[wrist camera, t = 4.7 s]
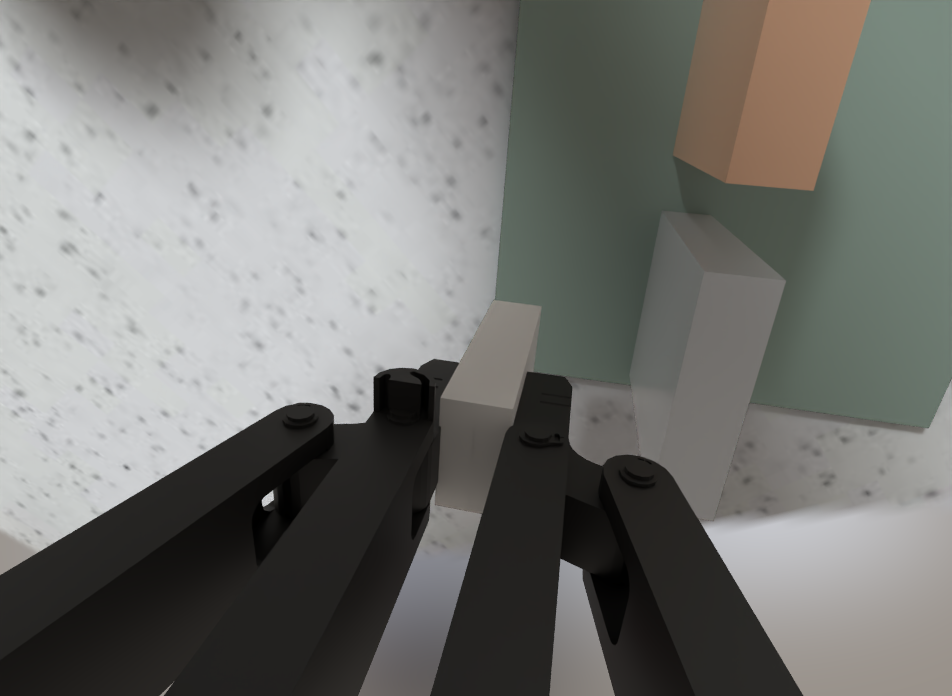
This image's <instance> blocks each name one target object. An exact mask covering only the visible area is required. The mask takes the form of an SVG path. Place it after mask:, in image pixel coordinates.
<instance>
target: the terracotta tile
mask: <svg viewBox="0 0 952 696" xmlns="http://www.w3.org/2000/svg"><path fill="white" fill-rule="evenodd" d="M870 2H871V0H703V5H702V10H701V15H700V20H699V25H698V30H697V35H696V40H695V45H694V50H693V55H692V60H691V65H690V70H689V76H688V81H687V86H686V91H685V96H684V101H683V106H682V111H681V116H680V121H679V126H678V131H677V136H676V141H675V146H674V151H673V156H675V157H677V158H679V159H681V160H683V161H685V162H686V163H688V164H690V165H692V166H694V167H696V168H698V169H700V170H702V171H703V172H705V173H707V174H709V175H711V176H713V177H715V178H717V179H719V180H721V181H722V182H724V183H730V184H741V185H753V186H764V187H775V188H787V189H798V190H810V191H814V187H815V184H816V181H817V177H818V174H819V171H820V167H821V164H822V161H823V157H824V154H825V151H826V148H827V144H828V141H829V138H830V134H831V131H832V128H833V124H834V121H835V118H836V114H837V111H838V108H839V105H840V101H841V98H842V95H843V91H844V88H845V85H846V81H847V78H848V75H849V71H850V68H851V65H852V62H853V58H854V55H855V52H856V48H857V45H858V42H859V38H860V35H861V32H862V28H863V25H864V22H865V19H866V15H867V12H868V9H869V5H870Z"/></svg>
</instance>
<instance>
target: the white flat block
mask: <svg viewBox="0 0 952 696" xmlns="http://www.w3.org/2000/svg"><path fill="white" fill-rule="evenodd" d="M785 283H786V280H785V279H784V278H783V277H782V276H780V275H779V274H778V273H777V272H776V271H775V270H773V269H772V268H771V267H770V266H769V265H768V264H767V263H765V262H764V261H763V260H762V259H761V258H760V257H759V256H757V255H756V254H755V253H754V252H753V251H752V250H750V249H749V248H748V247H747V246H746V245H745V244H744V243H742V242H741V241H740V240H739V239H738V238H737V237H736V236H734V235H733V234H732V233H731V232H730V231H729V230H727V229H726V228H725V227H724V226H723V225H722V224H721V223H719V222H718V221H717V220H716V219H715V218H714V217H713V216H711V215H703V214H693V213H682V212H672V211H662V212H661V217H660V222H659V227H658V232H657V237H656V242H655V247H654V252H653V257H652V263H651V268H650V273H649V278H648V283H647V288H646V293H645V298H644V303H643V308H642V313H641V318H640V323H639V328H638V333H637V338H636V343H635V348H634V354H633V359H632V364H631V369H630V374H629V376H630V384H631V391H632V399H633V406H634V413H635V421H636V428H637V436H638V443H639V450H640V456H641V457H644V458H646V459H650V460H652V461H655V462H656V463H658V464H659V465H661V466H663V467H664V468H666V469H667V471H668V472H669V473H670V474H671V475H672V476H673V478H674V479H675V481H676V483H677V484H678V486H679V488H680V490H681V491H682V493H683V495H684V496H685V498H686V500H687V501H688V503H689V505H690V506H691V508H692V510H693V511H694V513H695V515H696V516H697V518H698V519H703V520H708V521H714V518H715V515H716V511H717V508H718V505H719V501H720V498H721V495H722V492H723V488H724V485H725V482H726V478H727V475H728V472H729V468H730V465H731V462H732V458H733V455H734V452H735V449H736V445H737V442H738V439H739V435H740V432H741V429H742V425H743V422H744V419H745V415H746V412H747V409H748V406H749V402H750V399H751V396H752V392H753V389H754V386H755V382H756V379H757V376H758V372H759V369H760V366H761V363H762V359H763V356H764V353H765V349H766V346H767V343H768V339H769V336H770V333H771V329H772V326H773V323H774V320H775V316H776V313H777V310H778V306H779V303H780V300H781V296H782V293H783V290H784V286H785Z"/></svg>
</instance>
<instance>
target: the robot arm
mask: <svg viewBox="0 0 952 696" xmlns="http://www.w3.org/2000/svg"><path fill="white" fill-rule="evenodd" d="M541 307H542V306H536V305H528V304H521V303H513V302H505V301H498V300H493V302H492V304H491V306H490V308H489V309H488V311H487V313H486V315H485V317H484V319H483V320H482V322H481V324H480V326H479V328H478V330H477V331H476V333H475V335H474V337H473V339H472V341H471V342H470V344H469V346H468V348H467V350H466V352H465V354H464V355H463V357H462V359H461V361H460V363H458V362H451V361H444V360H437V359H433V360H431V361H429V362H427V363H425V364H423V365H422V366H421V367H420V368H419V369H418V370H417V369H412V368H396V369H389V370H386V371H383V372H380V373H379V374H377V375H376V376H374V412H373V413H372V415H371V416H370V417H369V419H368V420H367V421H366V423H358V424H334V415H333V413H332V412H331V411H330V409H328V408H326V407H324V406H322V405H317V404H312V403H297V404H293V405H288V406H285V407H283V408H280V409H278V410H276V411H274V412H272V413H271V414H269V415H267V416H266V417H264V418H262V419H261V420H259V421H257V422H256V423H254V424H252V425H251V426H249V427H247V428H246V429H244V430H242V431H241V432H239V433H237V434H236V435H234V436H232V437H231V438H229V439H227V440H226V441H224V442H222V443H221V444H219V445H217V446H216V447H214V448H212V449H211V450H209V451H207V452H206V453H204V454H202V455H201V456H199V457H197V458H196V459H194V460H192V461H191V462H189V463H187V464H185V465H184V466H182V467H180V468H179V469H177V470H175V471H174V472H172V473H170V474H169V475H167V476H165V477H164V478H162V479H160V480H159V481H157V482H155V483H154V484H152V485H150V486H149V487H147V488H145V489H144V490H142V491H140V492H139V493H137V494H135V495H134V496H132V497H130V498H129V499H127V500H125V501H124V502H122V503H120V504H119V505H117V506H115V507H114V508H112V509H110V510H109V511H107V512H105V513H104V514H102V515H100V516H99V517H97V518H95V519H93V520H92V521H90V522H88V523H87V524H85V525H83V526H82V527H80V528H78V529H77V530H75V531H73V532H72V533H70V534H68V535H67V536H65V537H63V538H62V539H60V540H58V541H57V542H55V543H53V544H52V545H50V546H48V547H47V548H45V549H43V550H42V551H40V552H38V553H37V554H35V555H33V556H32V557H30V558H28V559H27V560H25V561H23V562H22V563H20V564H18V565H17V566H15V567H13V568H12V569H10V570H8V571H7V572H5V573H3V574H1V575H0V696H159V695H160V694H162V692H164V691H165V690H166V689H167V688H168V687H169V686H170V685H171V684H172V683H173V682H174V683H173V684H172V685H171V687H170V688H169V690H168V691H167V692H166V694H165V695H164V696H358V694H359V692H360V689H361V687H362V684H363V682H364V679H365V677H366V674H367V672H368V670H369V667H370V665H371V662H372V660H373V657H374V655H375V652H376V650H377V647H378V645H379V642H380V640H381V637H382V635H383V632H384V630H385V627H386V625H387V623H388V620H389V618H390V615H391V613H392V610H393V608H394V605H395V603H396V600H397V598H398V595H399V592H400V590H401V588H402V585H403V583H404V580H405V578H406V576H407V573H408V570H409V568H410V566H411V563H412V561H413V558H414V556H415V553H416V551H417V548H418V546H419V543H420V541H421V538H422V536H423V533H424V531H425V529H426V526H427V524H428V521H429V514H430V500H431V497H432V495H433V493H434V490H435V488H436V495H435V505H438V506H444V507H449V508H454V509H459V510H465V511H470V512H475V513H480V514H482V517H481V520H480V524H479V527H478V531H477V534H476V538H475V541H474V545H473V548H472V552H471V555H470V559H469V562H468V566H467V569H466V573H465V576H464V580H463V583H462V587H461V590H460V594H459V597H458V601H457V604H456V608H455V611H454V615H453V618H452V622H451V625H450V629H449V632H448V636H447V639H446V643H445V646H444V650H443V653H442V657H441V660H440V664H439V667H438V671H437V674H436V678H435V681H434V685H433V688H432V692H431V695H430V696H549V692H550V679H551V667H552V655H553V642H554V631H555V618H556V606H557V594H558V581H559V567H560V559H563V560H565V561H567V562H569V563H571V564H573V565H575V566H578V567H580V568H582V569H583V582H584V585H585V589H586V593H587V596H588V600H589V604H590V607H591V611H592V614H593V618H594V622H595V625H596V629H597V632H598V636H599V640H600V643H601V647H602V650H603V654H604V658H605V661H606V665H607V668H608V672H609V676H610V679H611V683H612V686H613V690H614V693H615V696H803V695H802V693H801V691H800V689H799V688H798V686H797V685H796V683H795V681H794V680H793V678H792V676H791V674H790V673H789V671H788V669H787V668H786V666H785V664H784V663H783V661H782V659H781V657H780V656H779V654H778V653H777V651H776V649H775V647H774V646H773V644H772V642H771V641H770V639H769V637H768V636H767V634H766V632H765V631H764V629H763V627H762V626H761V624H760V622H759V621H758V619H757V617H756V615H755V614H754V612H753V610H752V609H751V607H750V605H749V604H748V602H747V600H746V599H745V597H744V595H743V594H742V592H741V590H740V589H739V587H738V585H737V584H736V582H735V580H734V579H733V577H732V575H731V573H730V572H729V571H728V569H727V567H726V565H725V563H724V562H723V560H722V558H721V557H720V555H719V553H718V552H717V550H716V548H715V547H714V545H713V543H712V542H711V540H710V538H709V537H708V535H707V533H706V532H705V530H704V528H703V526H702V525H701V523H700V521H699V520H698V518H697V516H696V515H695V513H694V511H693V510H692V508H691V506H690V505H689V503H688V501H687V500H686V498H685V496H684V495H683V493H682V491H681V490H680V488H679V486H678V484H677V483H676V481H675V479H674V478H673V476H672V475H671V474H670V473H669V472H668V471H667V469H666V468H664V467H663V466H661V465H659V464H658V463H656V462H655V461H652V460H650V459H646V458H644V457H641V456H633V455H619V456H615V457H612V458H610V459H608V460H607V461H606V463H605V464H604V465H603V466H600V465H597V464H595V463H592V462H590V461H588V460H586V459H584V458H583V457H581V456H580V455H578V454H577V453H576V452H575V451H574V450H573V449H572V447H571V446H570V443H569V439H568V435H569V423H570V411H571V398H572V386H571V385H570V383H569V382H568V380H567V379H566V378H565V377H561V376H554V375H548V374H541V373H534V372H533V371H534V363H535V355H536V347H537V339H538V331H539V323H540V315H541ZM272 490H273V494H274V500H273V501H272V502H271V503H269V504H268V505H266V506H264V507H263V506H262V499H263V498H264V497H265V496H266V495H267V494H269V493H270V492H271V491H272Z"/></svg>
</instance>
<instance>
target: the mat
mask: <svg viewBox="0 0 952 696" xmlns="http://www.w3.org/2000/svg"><path fill="white" fill-rule="evenodd" d="M702 5H703V0H520V8H519V20H518V32H517V44H516V56H515V68H514V80H513V92H512V104H511V116H510V128H509V140H508V152H507V164H506V176H505V187H504V199H503V211H502V223H501V235H500V247H499V259H498V271H497V283H496V295H495V300H498V301H505V302H513V303H521V304H528V305H536V306H542V307H541V315H540V323H539V331H538V339H537V347H536V355H535V363H534V371H533V372H540V373H547V374H554V375H561V376H568V377H575V378H582V379H589V380H596V381H603V382H610V383H617V384H624V385H631V384H630V376H629V374H630V369H631V364H632V359H633V354H634V348H635V343H636V338H637V333H638V328H639V323H640V318H641V313H642V308H643V303H644V298H645V293H646V288H647V283H648V278H649V273H650V268H651V263H652V257H653V252H654V247H655V242H656V237H657V232H658V227H659V222H660V217H661V212H662V211H672V212H682V213H693V214H703V215H711V216H713V217H714V218H715V219H716V220H717V221H718V222H719V223H721V224H722V225H723V226H724V227H725V228H726V229H727V230H729V231H730V232H731V233H732V234H733V235H734V236H736V237H737V238H738V239H739V240H740V241H741V242H742V243H744V244H745V245H746V246H747V247H748V248H749V249H750V250H752V251H753V252H754V253H755V254H756V255H757V256H759V257H760V258H761V259H762V260H763V261H764V262H765V263H767V264H768V265H769V266H770V267H771V268H772V269H773V270H775V271H776V272H777V273H778V274H779V275H780V276H782V277H783V278H784V279H785V280H786V283H785V286H784V290H783V293H782V296H781V300H780V303H779V306H778V310H777V313H776V316H775V320H774V323H773V326H772V329H771V333H770V336H769V339H768V343H767V346H766V349H765V353H764V356H763V359H762V363H761V366H760V369H759V372H758V376H757V379H756V382H755V386H754V389H753V392H752V396H751V399H750V402H749V403H756V404H763V405H770V406H777V407H783V408H790V409H797V410H804V411H811V412H818V413H825V414H832V415H839V416H846V417H853V418H860V419H867V420H874V421H881V422H888V423H895V424H902V425H909V426H916V427H922V428H929V427H930V424H931V422H932V420H933V418H934V416H935V414H936V411H937V409H938V407H939V405H940V403H941V401H942V398H943V396H944V394H945V392H946V390H947V388H948V385H949V383H950V381H951V379H952V0H871V2H870V5H869V9H868V12H867V15H866V19H865V22H864V25H863V28H862V32H861V35H860V38H859V42H858V45H857V48H856V52H855V55H854V58H853V62H852V65H851V68H850V71H849V75H848V78H847V81H846V85H845V88H844V91H843V95H842V98H841V101H840V105H839V108H838V111H837V114H836V118H835V121H834V124H833V128H832V131H831V134H830V138H829V141H828V144H827V148H826V151H825V154H824V157H823V161H822V164H821V167H820V171H819V174H818V177H817V181H816V184H815V187H814V191H810V190H798V189H787V188H775V187H764V186H753V185H741V184H730V183H724V182H722V181H721V180H719V179H717V178H715V177H713V176H711V175H709V174H707V173H705V172H703V171H702V170H700V169H698V168H696V167H694V166H692V165H690V164H688V163H686V162H685V161H683V160H681V159H679V158H677V157H675V156H673V151H674V146H675V141H676V136H677V131H678V126H679V121H680V116H681V111H682V106H683V101H684V96H685V91H686V86H687V81H688V76H689V70H690V65H691V60H692V55H693V50H694V45H695V40H696V35H697V30H698V25H699V20H700V15H701V10H702Z"/></svg>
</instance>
